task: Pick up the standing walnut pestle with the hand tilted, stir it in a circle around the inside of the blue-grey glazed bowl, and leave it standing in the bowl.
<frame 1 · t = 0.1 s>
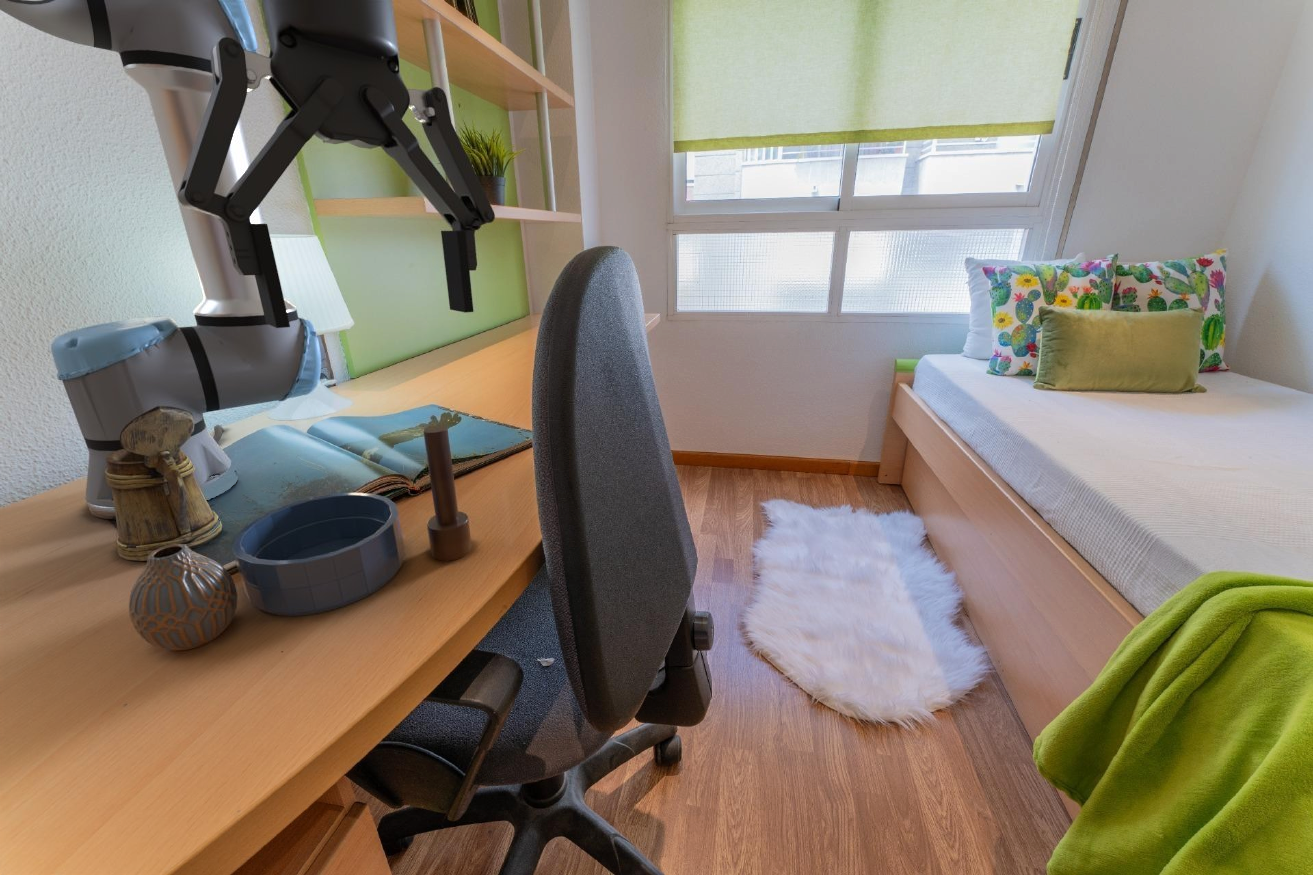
hand: (380, 317, 41), 28 cm above the table, tool pointing down, fingers open, 13 cm apart
bowl: (331, 573, 56), on the table
pestle: (451, 550, 60), on the table
wooden mug: (182, 547, 60), on the table
vase: (198, 636, 47), on the table
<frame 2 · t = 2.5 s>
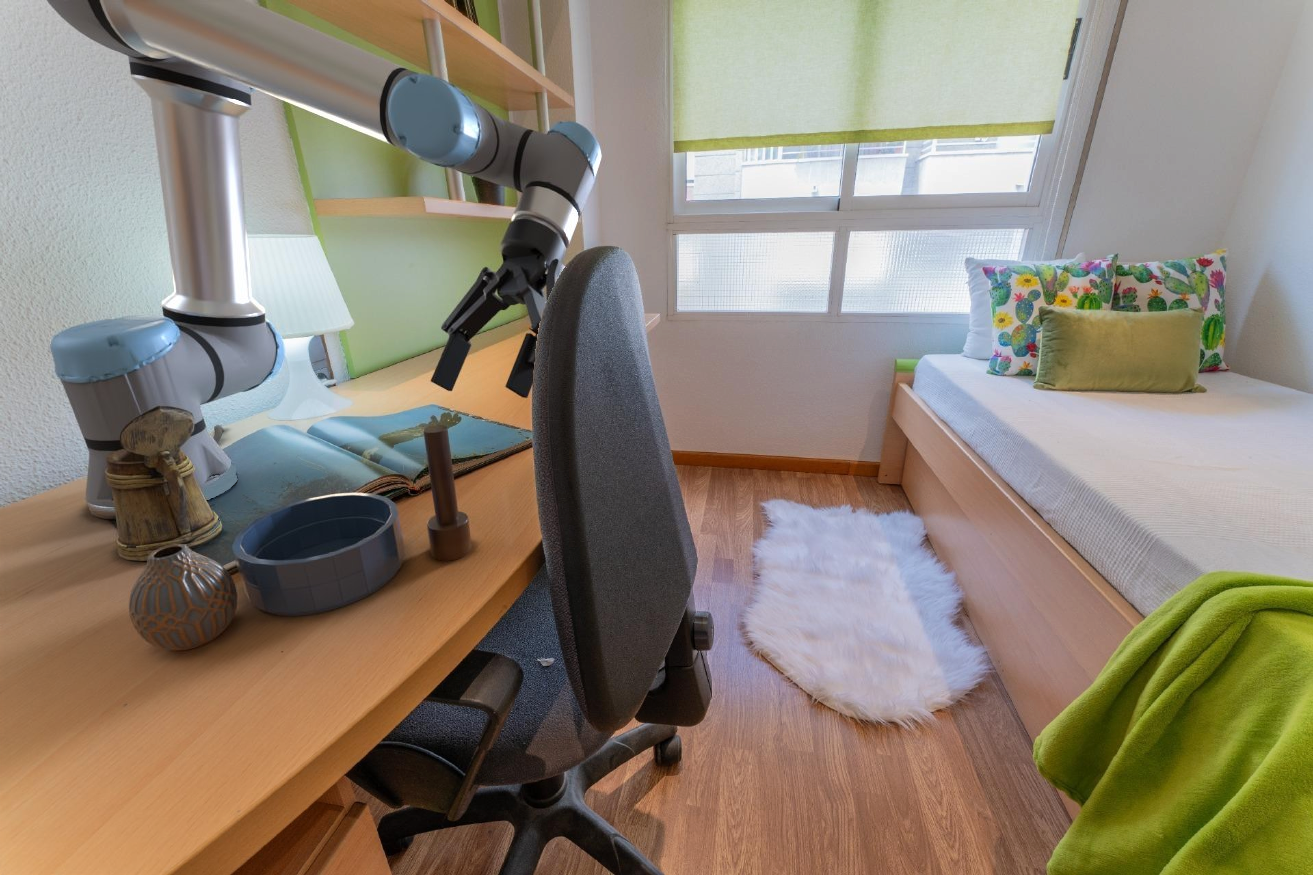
hand: (476, 389, 60), 18 cm above the table, tool tilted 40°, fingers open, 13 cm apart
nothing on the table moved.
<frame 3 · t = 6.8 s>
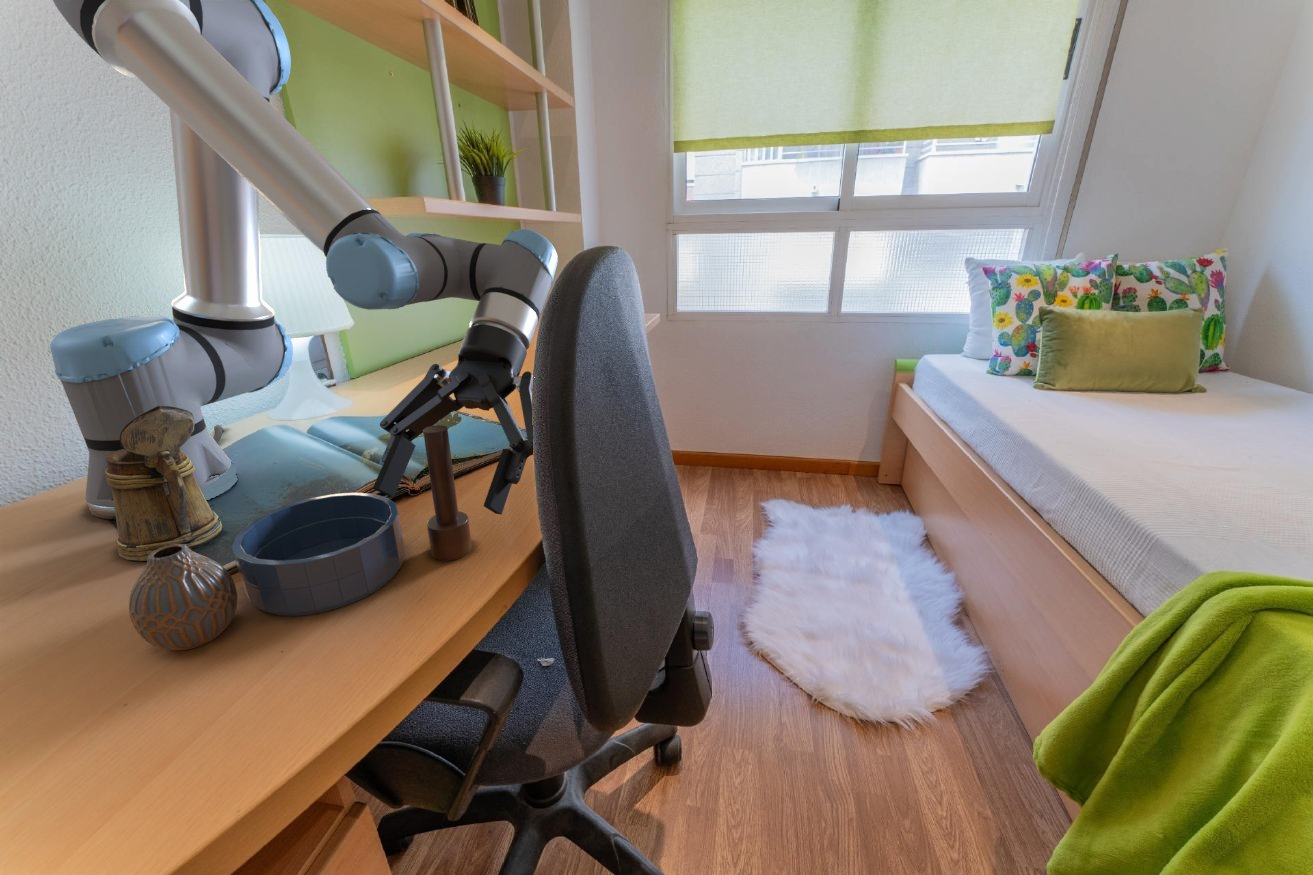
hand: (436, 502, 56), 7 cm above the table, tool tilted 45°, fingers open, 13 cm apart
nothing on the table moved.
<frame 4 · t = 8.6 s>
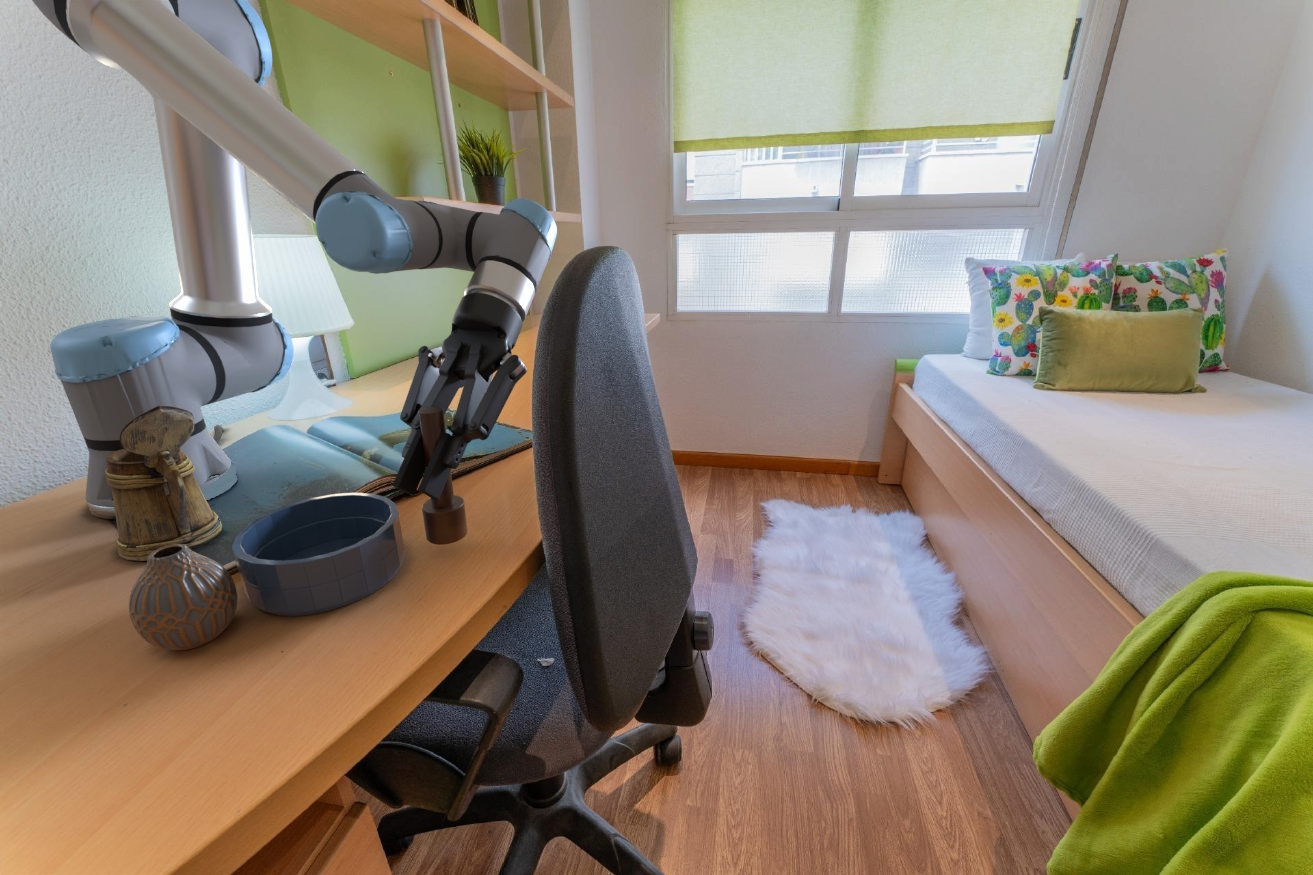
hand: (416, 492, 53), 9 cm above the table, tool tilted 45°, fingers closed on pestle, 2 cm apart
pestle: (447, 534, 59), point 2 cm above the table, touching gripper
everything else where it was.
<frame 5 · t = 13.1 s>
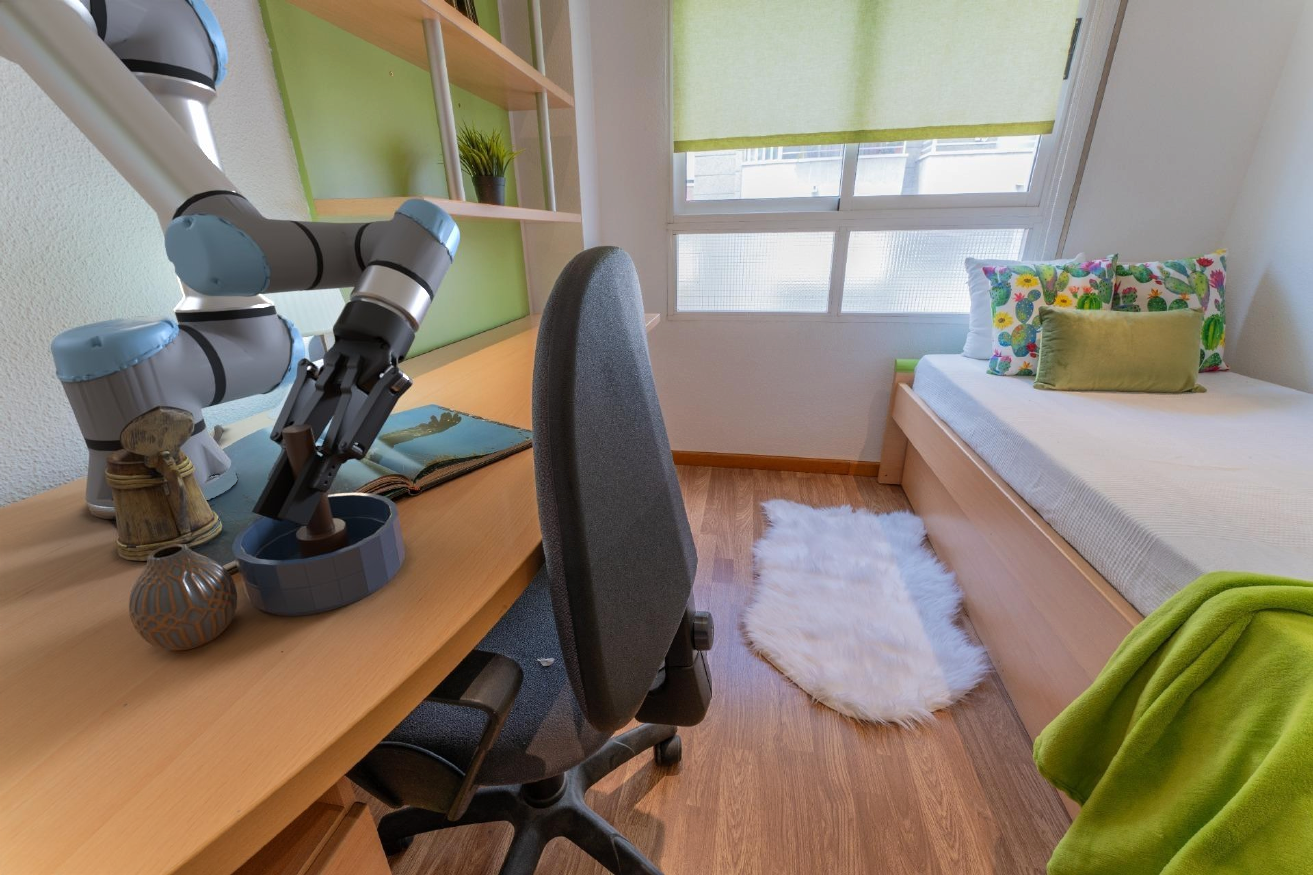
hand: (279, 518, 49), 9 cm above the table, tool tilted 45°, fingers closed on pestle, 2 cm apart
pestle: (329, 561, 55), point 2 cm above the table, touching gripper
everything else where it was.
when the fingers open (7 cm above the table, at t = 17.6 s): pestle stays where it is, resting on bowl.
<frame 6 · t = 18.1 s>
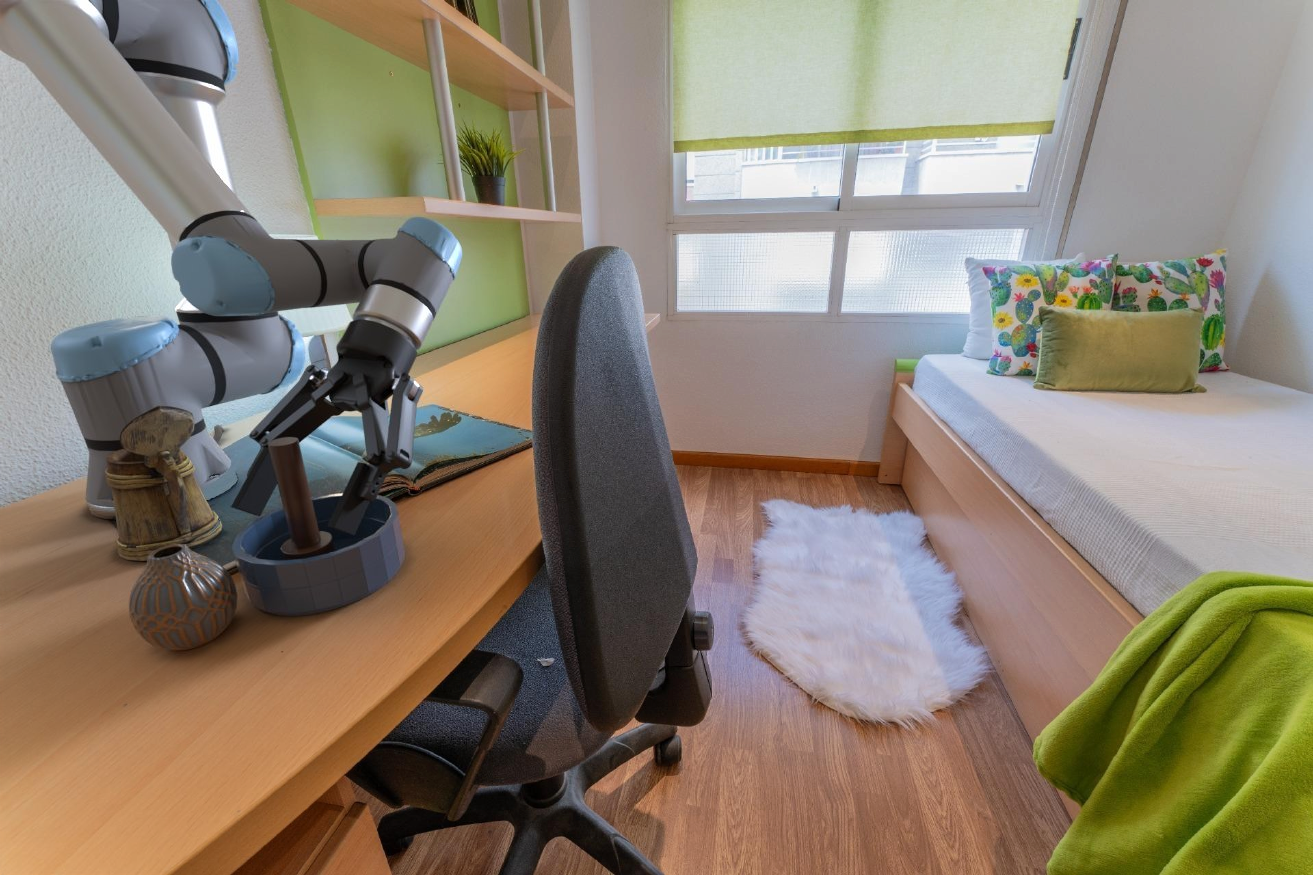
hand: (291, 521, 50), 8 cm above the table, tool tilted 45°, fingers open, 11 cm apart
pestle: (314, 575, 54), point 1 cm above the table, touching bowl
everything else where it was.
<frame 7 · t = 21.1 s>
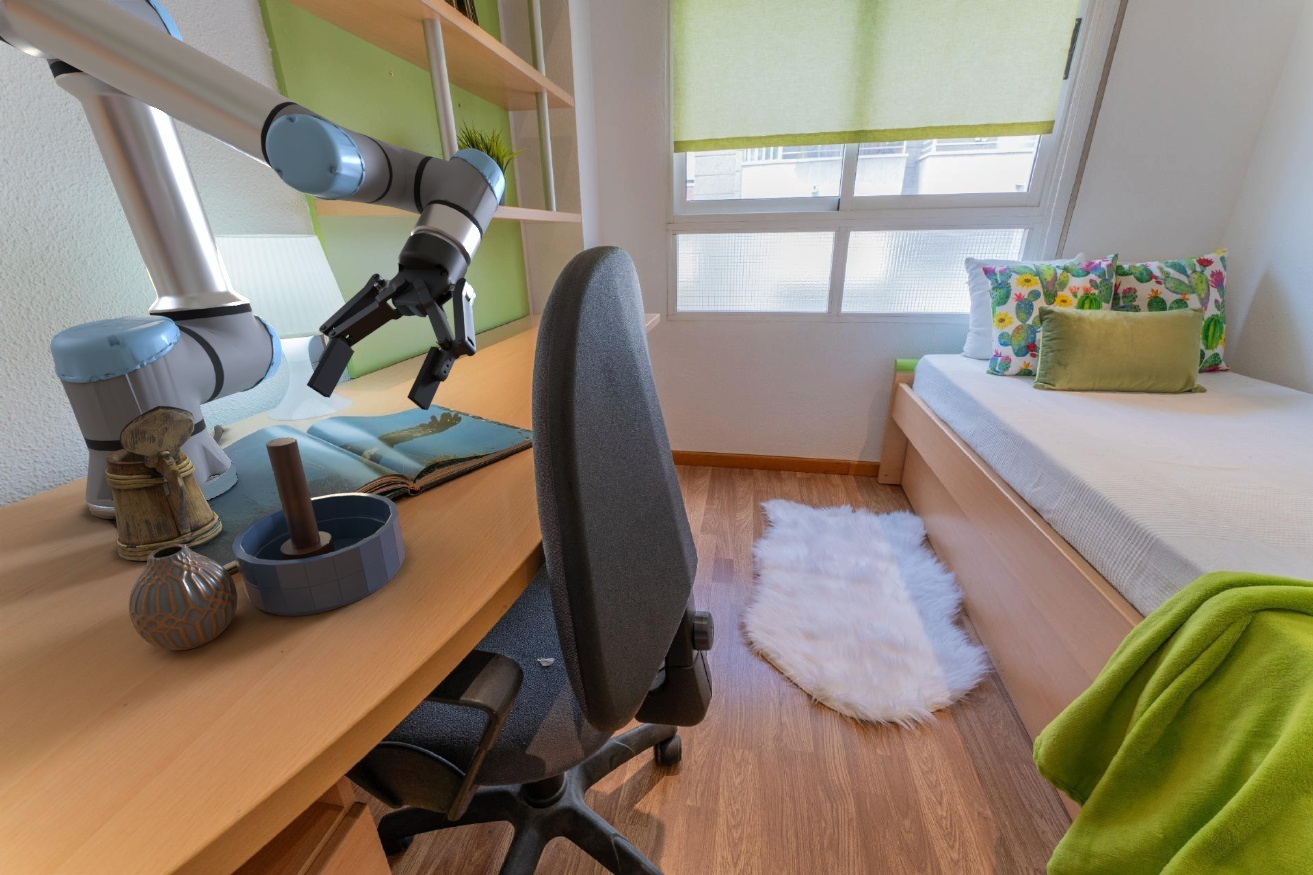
hand: (366, 397, 57), 17 cm above the table, tool tilted 45°, fingers open, 13 cm apart
nothing on the table moved.
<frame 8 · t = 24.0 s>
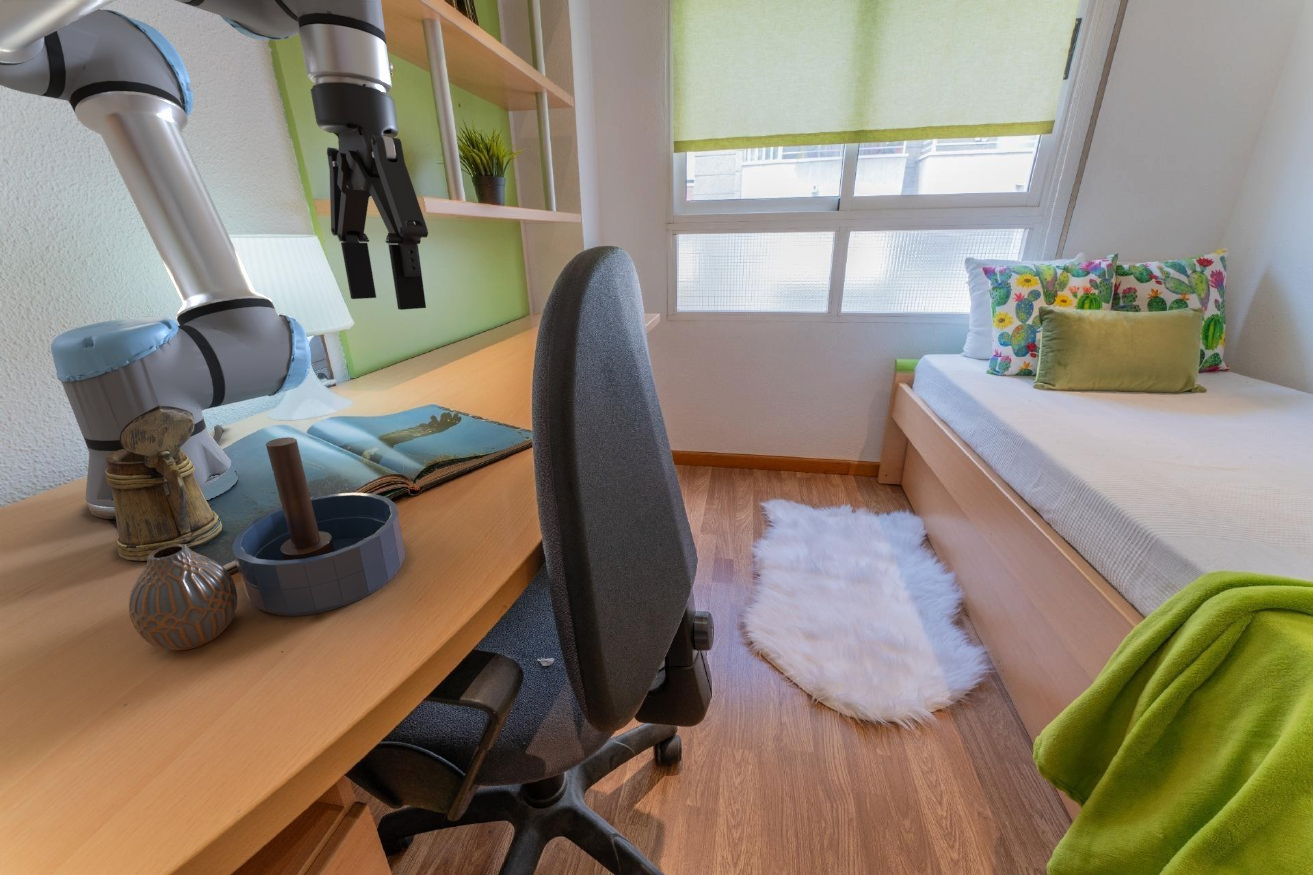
hand: (386, 303, 60), 27 cm above the table, tool pointing down, fingers open, 13 cm apart
nothing on the table moved.
at the end: pestle inside the target area in the bowl (1.6 cm from its centre), point 0.6 cm above the bowl's base; pestle tilted 0°; the gripper is holding nothing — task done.
